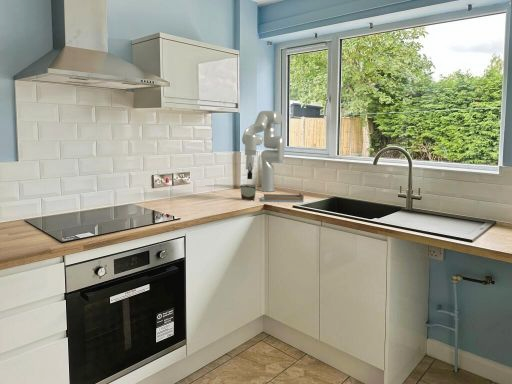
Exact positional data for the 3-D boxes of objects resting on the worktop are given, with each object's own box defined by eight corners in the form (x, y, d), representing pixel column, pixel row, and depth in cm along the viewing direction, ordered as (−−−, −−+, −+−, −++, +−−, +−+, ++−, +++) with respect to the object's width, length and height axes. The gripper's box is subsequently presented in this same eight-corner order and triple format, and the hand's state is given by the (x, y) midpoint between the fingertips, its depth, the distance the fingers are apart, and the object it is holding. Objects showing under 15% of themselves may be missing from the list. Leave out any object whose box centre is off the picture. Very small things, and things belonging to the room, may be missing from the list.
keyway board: (261, 198, 288) (261, 191, 288) (301, 199, 289) (301, 191, 288) (261, 201, 277) (261, 193, 276) (303, 202, 277) (303, 194, 276)
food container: (259, 199, 284) (259, 185, 283) (255, 200, 279) (256, 186, 277) (243, 197, 289) (243, 183, 288) (239, 199, 284) (239, 184, 282)
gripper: (245, 152, 287) (244, 176, 290) (244, 153, 270) (244, 179, 272) (255, 152, 287) (255, 177, 290) (256, 153, 270) (255, 179, 273)
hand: (249, 178), depth 281 cm, fingers open, 9 cm apart
